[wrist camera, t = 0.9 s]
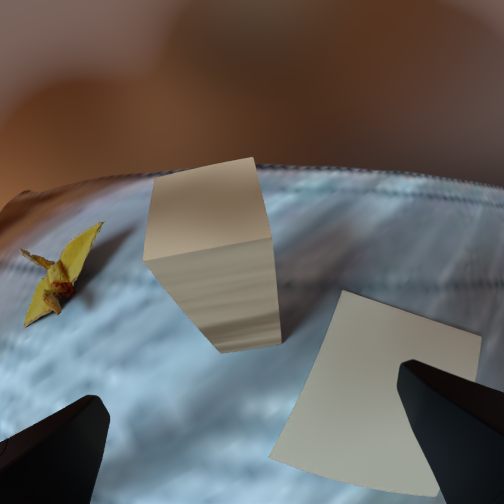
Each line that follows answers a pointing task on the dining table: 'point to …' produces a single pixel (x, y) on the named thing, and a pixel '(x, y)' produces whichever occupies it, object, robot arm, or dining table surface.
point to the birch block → (216, 253)
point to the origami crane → (60, 274)
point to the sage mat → (370, 397)
